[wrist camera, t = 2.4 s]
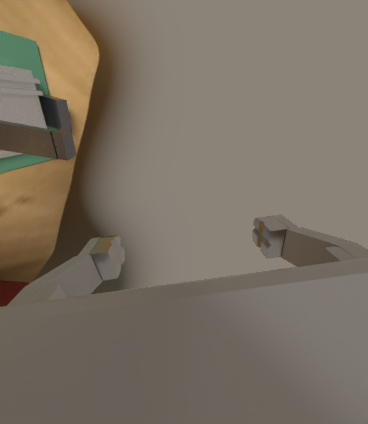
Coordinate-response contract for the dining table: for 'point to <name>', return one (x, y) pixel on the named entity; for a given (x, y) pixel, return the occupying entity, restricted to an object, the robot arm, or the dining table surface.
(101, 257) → the robot arm
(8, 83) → the heat sink
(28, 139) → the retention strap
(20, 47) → the circuit board
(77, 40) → the dining table surface
